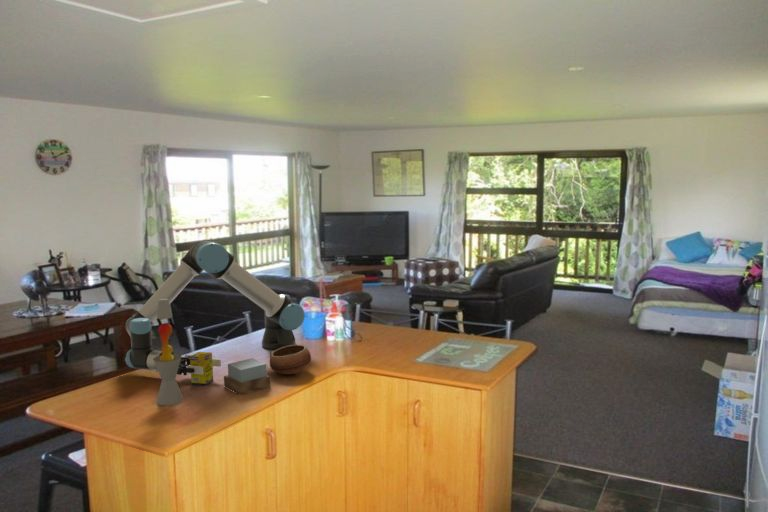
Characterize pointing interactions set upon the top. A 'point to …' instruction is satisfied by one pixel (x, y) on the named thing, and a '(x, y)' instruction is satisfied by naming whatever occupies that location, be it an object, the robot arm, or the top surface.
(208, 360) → the supplement box
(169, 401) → the lava lamp
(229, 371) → the tower top block
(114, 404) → the top surface
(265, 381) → the tower base slab
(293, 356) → the bowl
